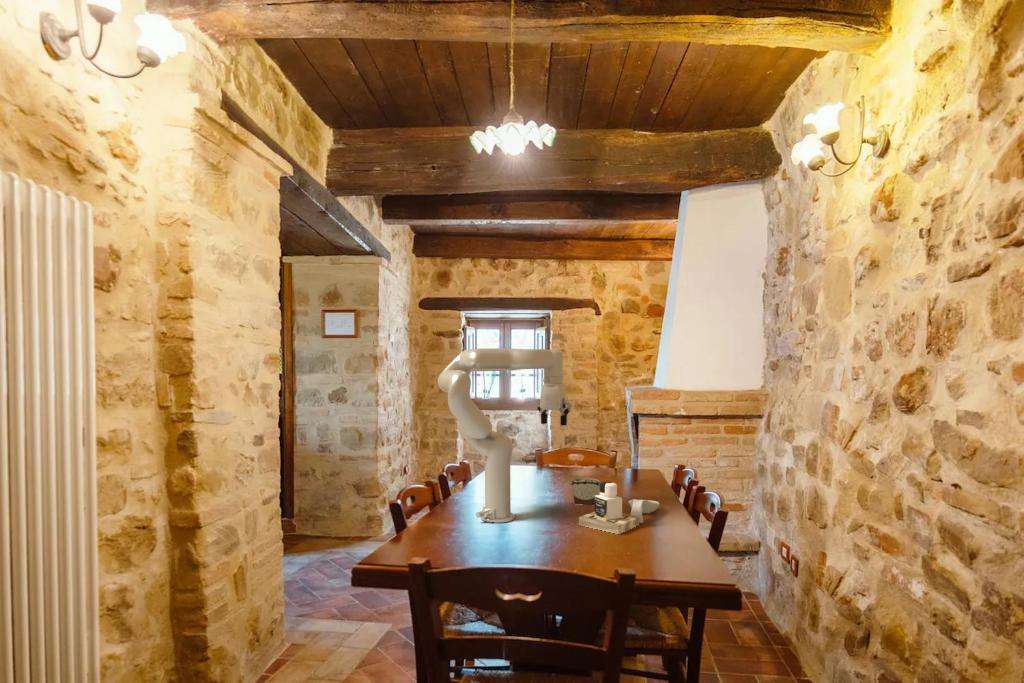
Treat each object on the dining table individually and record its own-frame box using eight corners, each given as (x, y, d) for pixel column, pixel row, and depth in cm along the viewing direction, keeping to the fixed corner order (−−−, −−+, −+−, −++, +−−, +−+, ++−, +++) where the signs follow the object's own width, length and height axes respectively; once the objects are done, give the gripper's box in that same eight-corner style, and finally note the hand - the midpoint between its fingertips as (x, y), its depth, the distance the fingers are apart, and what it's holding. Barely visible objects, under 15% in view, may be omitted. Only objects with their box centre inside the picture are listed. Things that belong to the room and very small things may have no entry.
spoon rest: (631, 506, 221) (631, 488, 221) (661, 509, 216) (661, 491, 217) (620, 522, 199) (620, 502, 199) (653, 525, 194) (653, 505, 195)
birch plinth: (618, 534, 183) (618, 525, 183) (578, 525, 193) (578, 516, 194) (639, 525, 193) (639, 516, 193) (600, 517, 204) (600, 508, 204)
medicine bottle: (593, 515, 195) (594, 481, 195) (609, 513, 198) (609, 480, 199) (606, 520, 188) (606, 485, 189) (622, 518, 192) (622, 483, 193)
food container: (600, 502, 227) (600, 477, 228) (601, 505, 221) (601, 480, 222) (570, 501, 229) (570, 477, 229) (570, 505, 222) (570, 480, 223)
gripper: (530, 381, 221) (530, 423, 220) (565, 381, 210) (565, 426, 209) (542, 380, 227) (542, 422, 226) (576, 381, 215) (577, 425, 214)
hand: (553, 424), depth 217 cm, fingers open, 9 cm apart
